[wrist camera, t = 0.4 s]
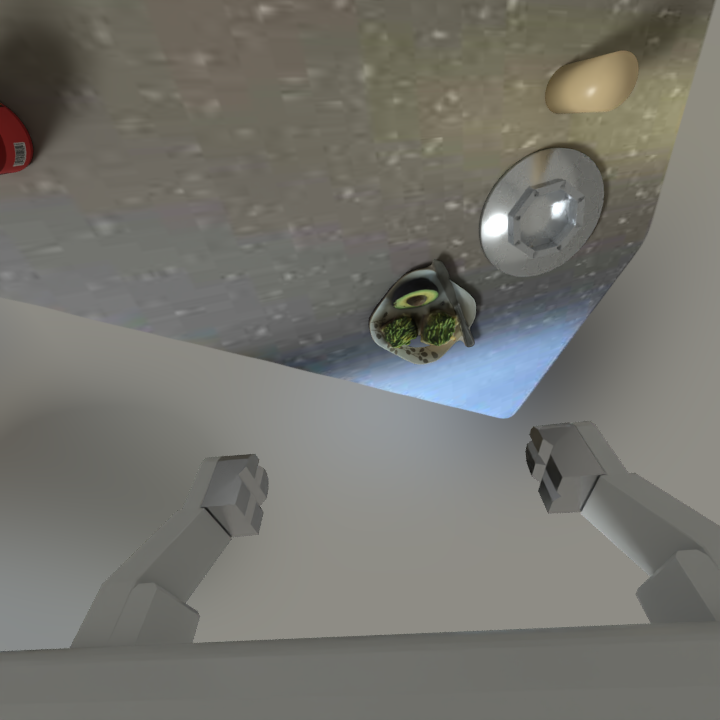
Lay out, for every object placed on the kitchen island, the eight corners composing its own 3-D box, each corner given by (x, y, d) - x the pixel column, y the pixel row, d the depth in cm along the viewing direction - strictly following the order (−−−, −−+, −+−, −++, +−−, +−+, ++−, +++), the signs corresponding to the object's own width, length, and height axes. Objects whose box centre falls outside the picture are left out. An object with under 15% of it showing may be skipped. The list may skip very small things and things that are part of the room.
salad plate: (502, 307, 61) (514, 319, 57) (434, 375, 69) (440, 390, 65) (421, 244, 54) (428, 254, 50) (355, 328, 61) (357, 342, 57)
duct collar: (474, 170, 48) (482, 173, 45) (607, 129, 46) (623, 129, 44) (482, 287, 58) (489, 294, 56) (591, 257, 56) (604, 263, 54)
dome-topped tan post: (546, 71, 42) (591, 59, 35) (587, 57, 42) (642, 43, 34) (544, 119, 45) (586, 118, 38) (583, 106, 45) (633, 103, 37)
